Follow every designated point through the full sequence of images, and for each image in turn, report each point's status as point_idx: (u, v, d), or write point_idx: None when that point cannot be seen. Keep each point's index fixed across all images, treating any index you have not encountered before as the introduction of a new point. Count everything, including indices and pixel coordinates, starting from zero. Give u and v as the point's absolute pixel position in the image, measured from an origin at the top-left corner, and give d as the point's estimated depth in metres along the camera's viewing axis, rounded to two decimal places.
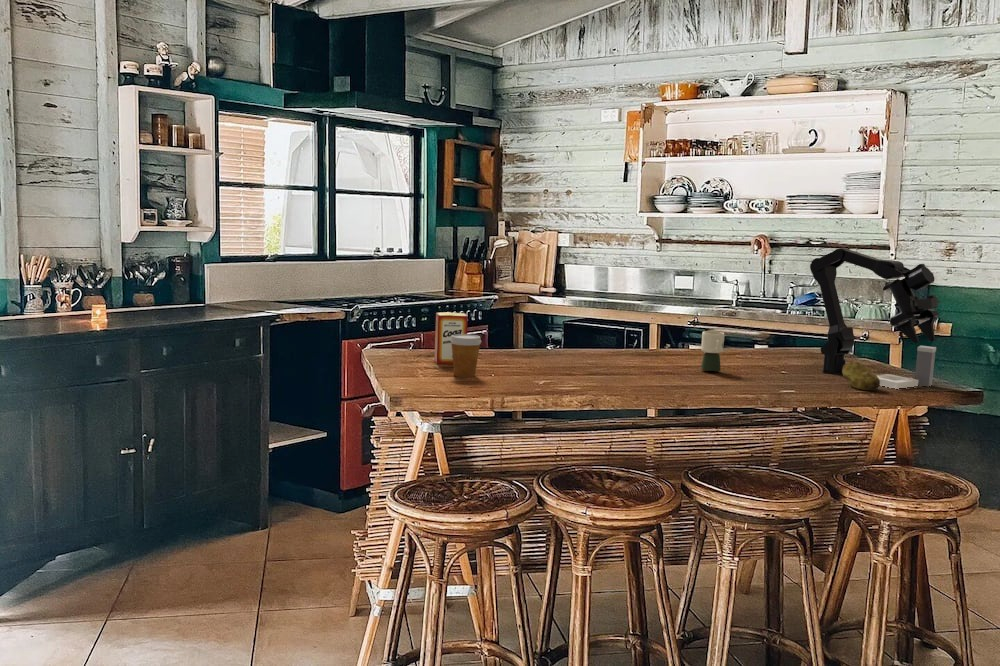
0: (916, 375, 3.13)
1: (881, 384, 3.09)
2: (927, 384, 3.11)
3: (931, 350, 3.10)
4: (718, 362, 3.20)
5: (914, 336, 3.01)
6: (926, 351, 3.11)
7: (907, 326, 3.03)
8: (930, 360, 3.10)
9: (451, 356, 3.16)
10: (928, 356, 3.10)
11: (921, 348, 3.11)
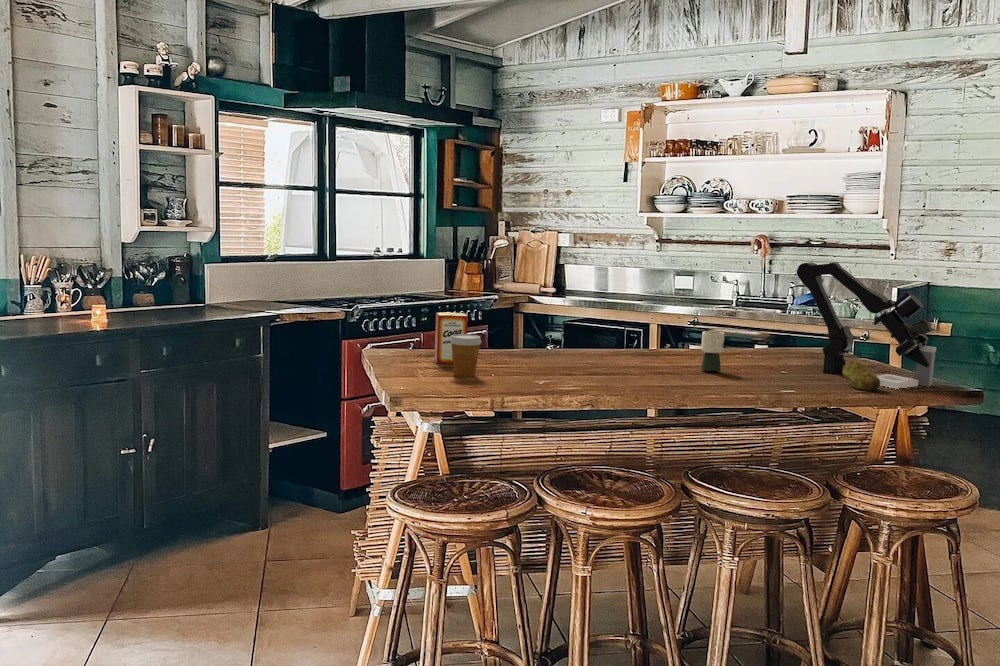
0: (916, 375, 3.13)
1: (881, 384, 3.09)
2: (927, 384, 3.11)
3: (931, 350, 3.10)
4: (718, 362, 3.20)
5: (924, 360, 3.10)
6: (926, 351, 3.11)
7: (914, 352, 3.12)
8: (930, 360, 3.10)
9: (451, 356, 3.16)
10: (928, 355, 3.10)
11: (921, 348, 3.11)
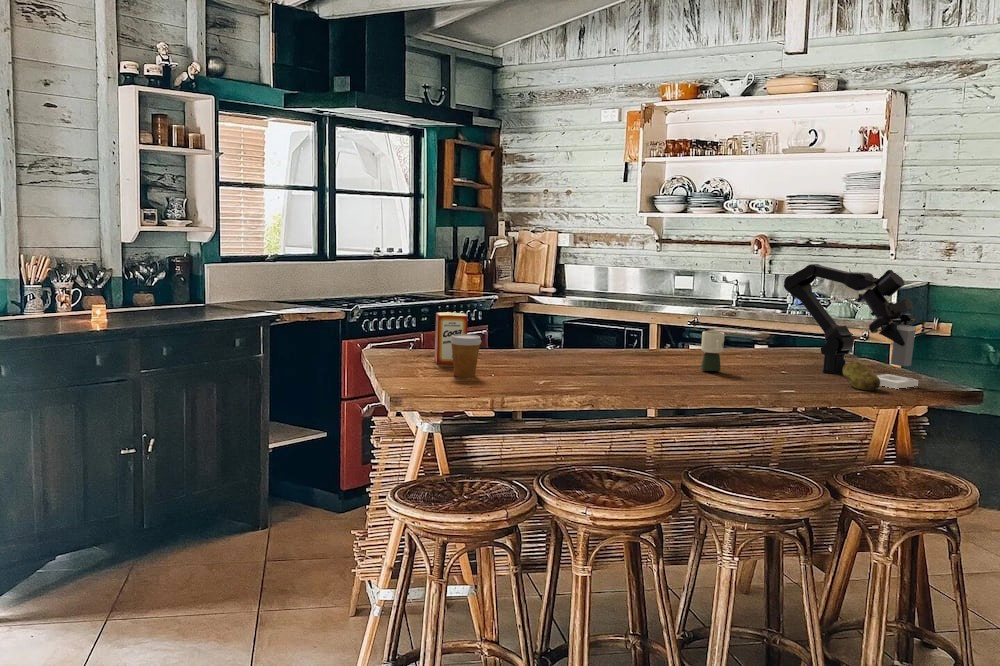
0: (893, 354, 3.11)
1: (881, 384, 3.09)
2: (903, 363, 3.09)
3: (907, 329, 3.07)
4: (718, 362, 3.20)
5: (899, 338, 3.08)
6: (902, 330, 3.08)
7: (890, 330, 3.10)
8: (906, 339, 3.08)
9: (451, 356, 3.16)
10: (904, 334, 3.08)
11: (898, 326, 3.09)
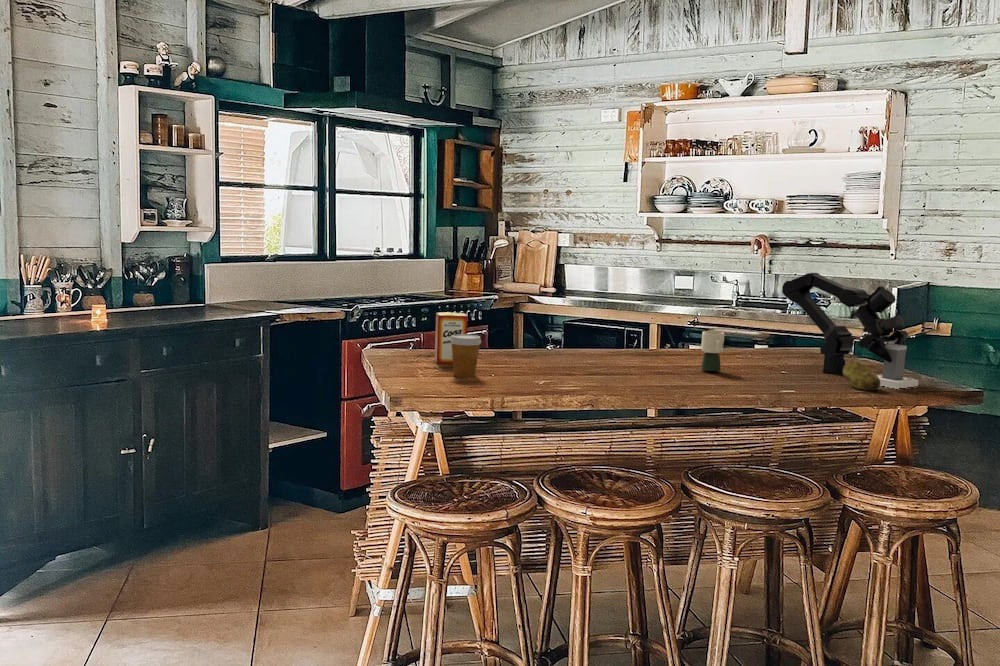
0: (884, 373, 3.12)
1: (881, 384, 3.09)
2: None
3: (896, 348, 3.08)
4: (718, 362, 3.20)
5: (886, 355, 3.08)
6: (892, 349, 3.09)
7: (878, 347, 3.10)
8: (895, 358, 3.08)
9: (451, 356, 3.16)
10: (894, 353, 3.09)
11: (888, 346, 3.10)
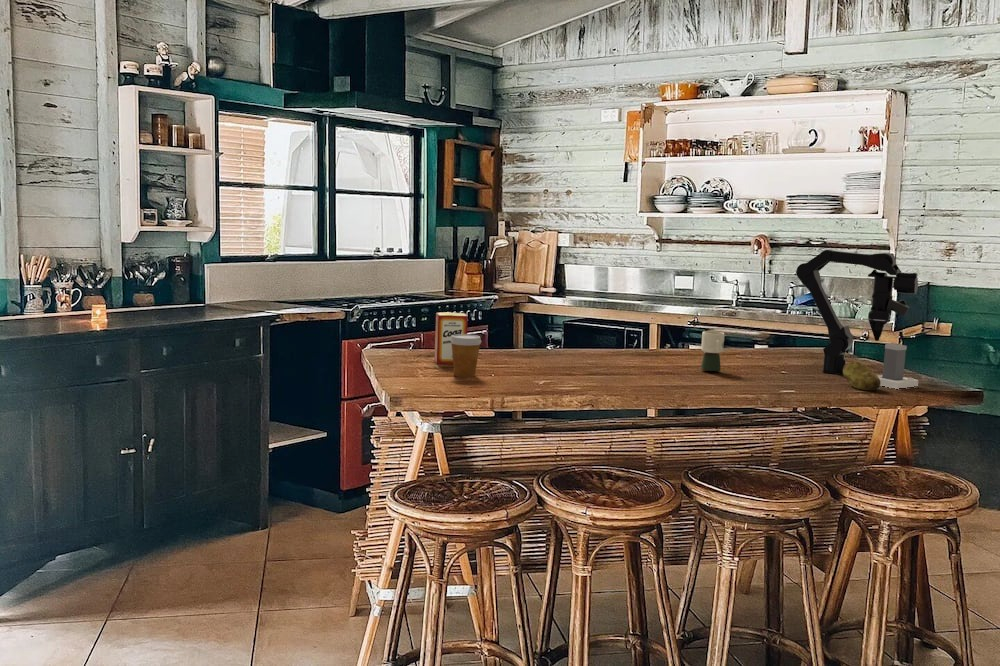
0: (884, 373, 3.12)
1: (881, 384, 3.09)
2: None
3: (896, 348, 3.08)
4: (718, 362, 3.20)
5: (879, 334, 3.17)
6: (892, 349, 3.09)
7: (878, 323, 3.16)
8: (895, 358, 3.08)
9: (451, 356, 3.16)
10: (894, 353, 3.09)
11: (888, 345, 3.10)
